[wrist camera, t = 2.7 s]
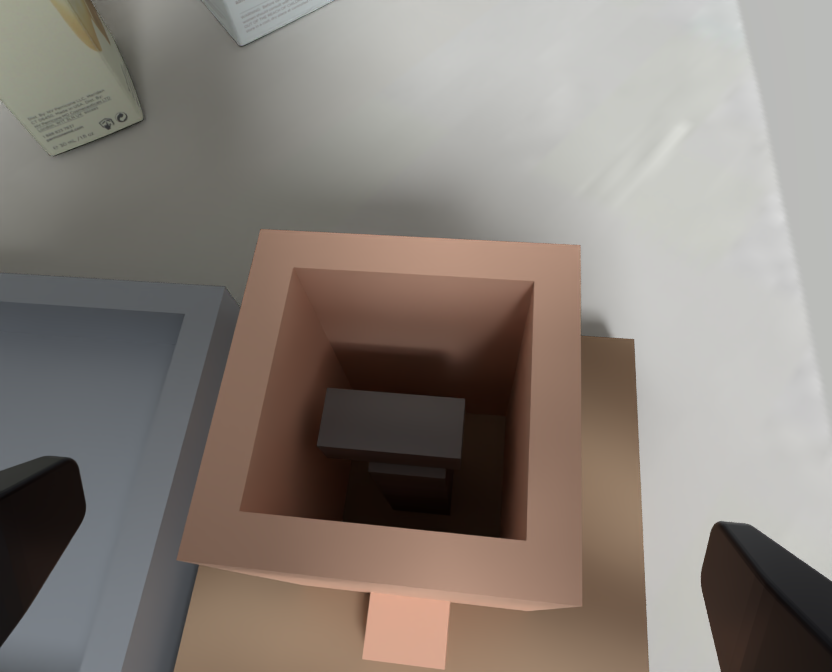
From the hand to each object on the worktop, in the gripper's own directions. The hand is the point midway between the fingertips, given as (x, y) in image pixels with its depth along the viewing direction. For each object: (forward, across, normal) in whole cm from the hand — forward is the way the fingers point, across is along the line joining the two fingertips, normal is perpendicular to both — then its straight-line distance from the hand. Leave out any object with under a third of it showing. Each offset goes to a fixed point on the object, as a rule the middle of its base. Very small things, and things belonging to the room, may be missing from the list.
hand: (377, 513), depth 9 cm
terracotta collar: (+8, 0, +5) cm, 9 cm away
